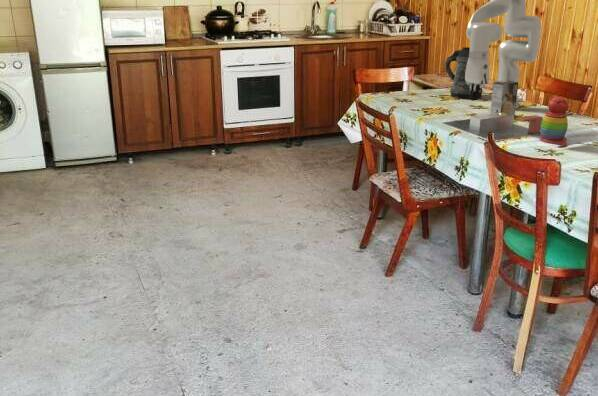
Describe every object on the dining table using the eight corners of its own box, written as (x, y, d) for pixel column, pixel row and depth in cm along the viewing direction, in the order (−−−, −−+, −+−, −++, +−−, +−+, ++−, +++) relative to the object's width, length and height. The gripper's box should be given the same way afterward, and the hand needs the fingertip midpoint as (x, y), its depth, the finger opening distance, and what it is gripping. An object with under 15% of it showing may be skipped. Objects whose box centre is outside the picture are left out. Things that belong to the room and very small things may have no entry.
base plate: (489, 118, 260) (489, 116, 260) (543, 135, 233) (543, 132, 233) (441, 124, 250) (441, 122, 250) (492, 143, 223) (492, 140, 223)
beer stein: (485, 99, 299) (491, 49, 290) (448, 99, 299) (452, 50, 290) (477, 93, 314) (481, 45, 305) (441, 93, 315) (444, 46, 305)
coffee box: (504, 115, 266) (508, 79, 261) (514, 117, 261) (519, 82, 255) (489, 117, 262) (493, 81, 257) (499, 120, 257) (503, 84, 251)
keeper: (533, 130, 237) (535, 115, 235) (540, 132, 234) (542, 116, 232) (514, 132, 233) (516, 117, 231) (520, 134, 230) (522, 119, 228)
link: (501, 123, 247) (503, 112, 246) (512, 126, 242) (514, 115, 240) (469, 128, 241) (470, 116, 239) (479, 131, 236) (480, 119, 234)
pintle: (501, 125, 245) (503, 112, 243) (505, 126, 243) (507, 113, 241) (496, 125, 244) (498, 112, 242) (501, 127, 242) (502, 114, 240)
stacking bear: (566, 148, 216) (574, 100, 209) (537, 145, 220) (544, 98, 213) (567, 141, 225) (574, 95, 219) (539, 138, 229) (545, 93, 222)
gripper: (498, 57, 233) (493, 102, 239) (473, 53, 245) (469, 96, 252) (483, 58, 230) (478, 104, 236) (459, 54, 243) (455, 97, 249)
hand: (473, 100), depth 244 cm, fingers closed
